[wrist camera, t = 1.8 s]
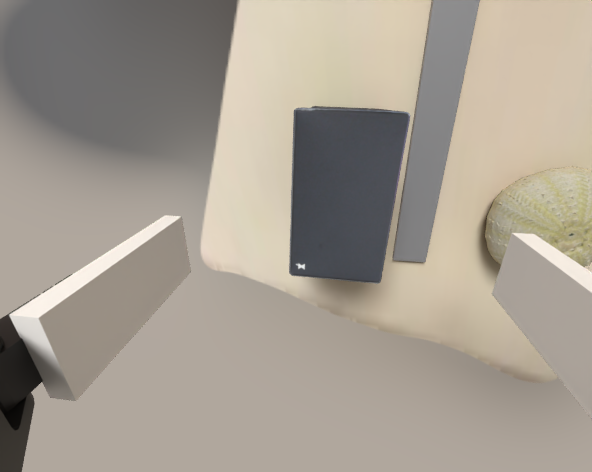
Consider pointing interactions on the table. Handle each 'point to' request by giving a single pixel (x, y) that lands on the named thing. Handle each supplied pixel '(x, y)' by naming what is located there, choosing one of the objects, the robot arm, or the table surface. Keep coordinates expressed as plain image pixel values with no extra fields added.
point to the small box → (344, 190)
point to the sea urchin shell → (545, 213)
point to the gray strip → (433, 122)
